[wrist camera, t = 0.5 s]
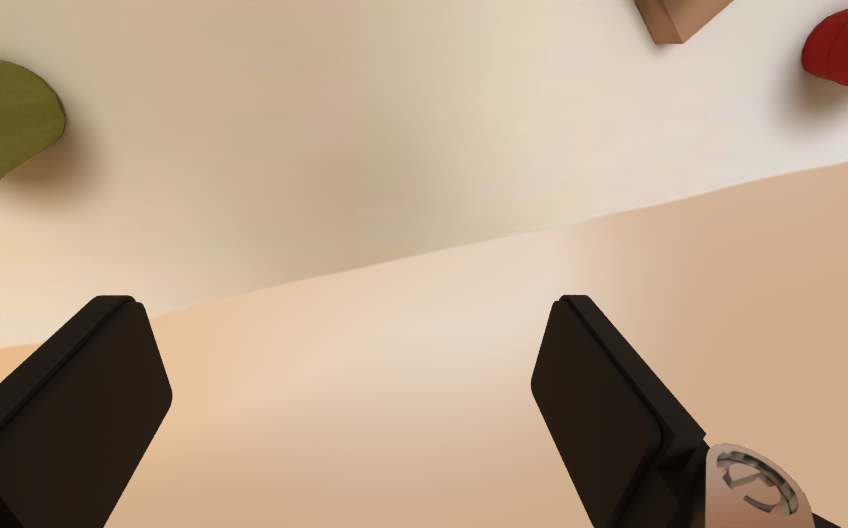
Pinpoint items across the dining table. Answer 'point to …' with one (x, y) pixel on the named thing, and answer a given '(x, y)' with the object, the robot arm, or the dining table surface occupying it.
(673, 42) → the walnut deck
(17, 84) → the plant pot
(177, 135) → the dining table surface
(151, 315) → the dining table surface
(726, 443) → the robot arm
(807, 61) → the plastic cup
